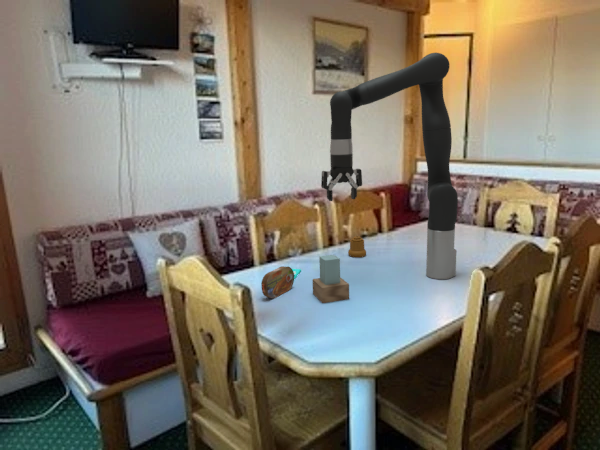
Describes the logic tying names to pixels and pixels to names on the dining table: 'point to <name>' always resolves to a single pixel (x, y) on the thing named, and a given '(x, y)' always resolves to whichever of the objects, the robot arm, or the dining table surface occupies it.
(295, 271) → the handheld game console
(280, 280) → the tin
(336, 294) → the walnut plinth
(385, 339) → the dining table surface
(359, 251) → the ornamental finial
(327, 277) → the teal block
